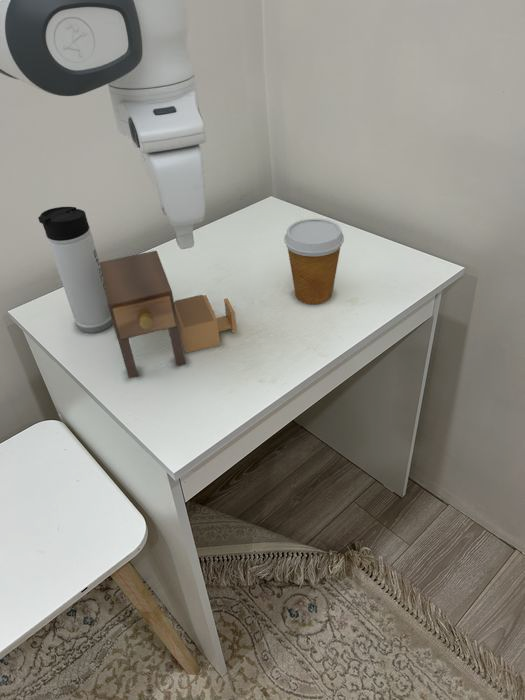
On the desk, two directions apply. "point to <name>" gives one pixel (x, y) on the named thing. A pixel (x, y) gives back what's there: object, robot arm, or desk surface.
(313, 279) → the disposable coffee cup
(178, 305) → the wooden drawer
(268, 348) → the desk surface
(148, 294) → the drawer unit
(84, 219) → the travel mug
